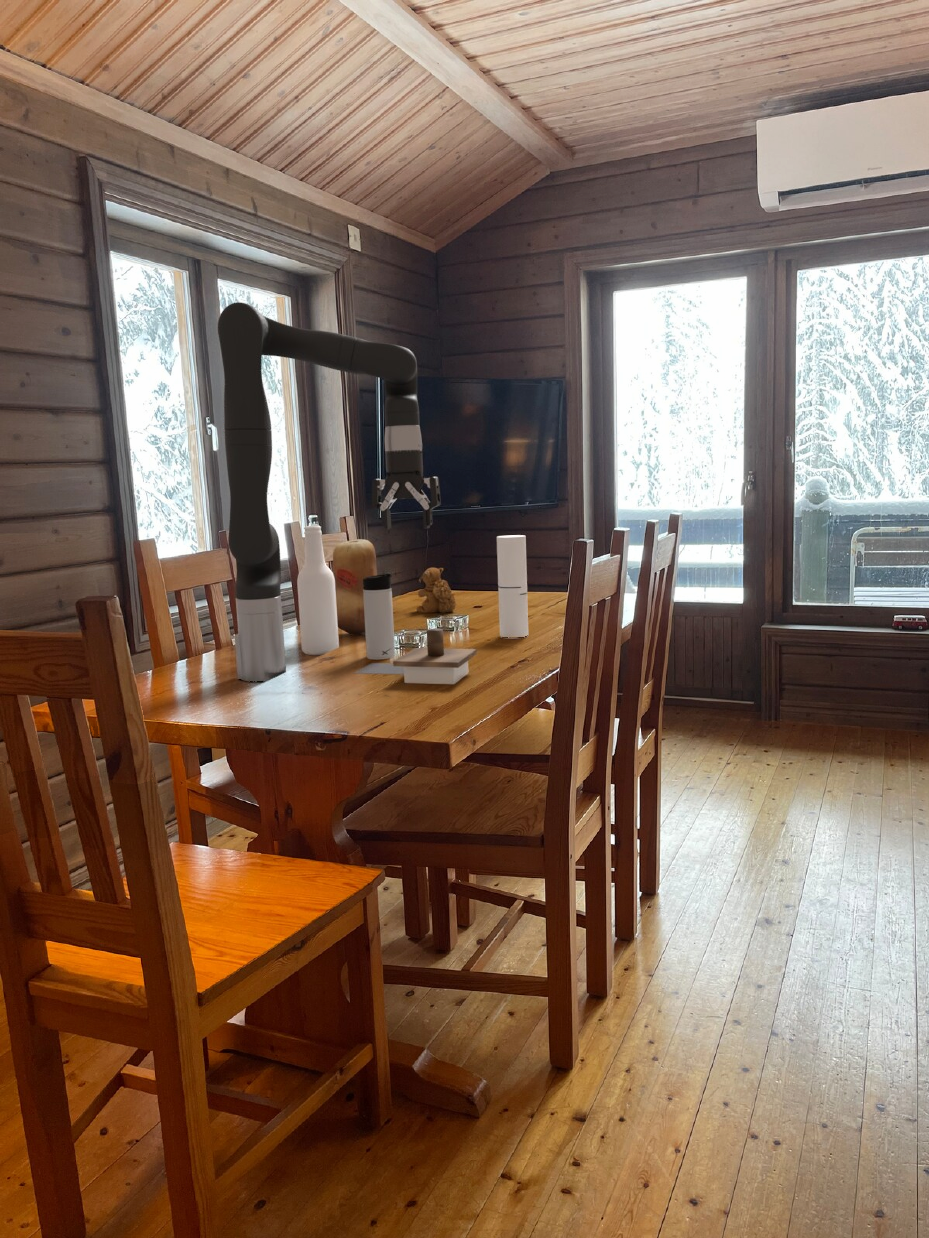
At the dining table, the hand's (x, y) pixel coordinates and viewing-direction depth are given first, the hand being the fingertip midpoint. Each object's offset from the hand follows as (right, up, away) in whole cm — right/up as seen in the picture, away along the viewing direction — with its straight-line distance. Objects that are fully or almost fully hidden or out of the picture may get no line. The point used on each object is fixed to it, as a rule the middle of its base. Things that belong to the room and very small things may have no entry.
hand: (407, 528), depth 192 cm
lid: (+6, -27, -10) cm, 29 cm away
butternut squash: (-16, -23, +51) cm, 58 cm away
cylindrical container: (+24, -23, +41) cm, 53 cm away
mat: (-3, -31, +1) cm, 31 cm away
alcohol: (-23, -27, +30) cm, 46 cm away
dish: (+7, -32, -9) cm, 34 cm away
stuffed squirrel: (+4, -17, +87) cm, 89 cm away
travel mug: (-6, -29, +14) cm, 33 cm away
